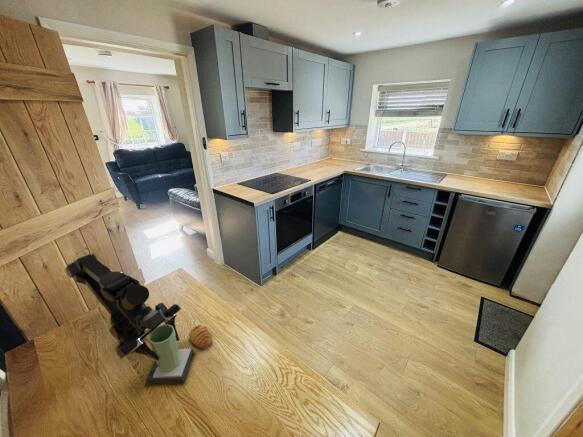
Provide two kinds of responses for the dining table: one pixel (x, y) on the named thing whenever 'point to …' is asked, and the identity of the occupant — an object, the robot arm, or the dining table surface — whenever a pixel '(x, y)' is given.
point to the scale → (172, 376)
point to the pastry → (200, 336)
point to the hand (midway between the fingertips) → (168, 349)
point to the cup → (165, 347)
